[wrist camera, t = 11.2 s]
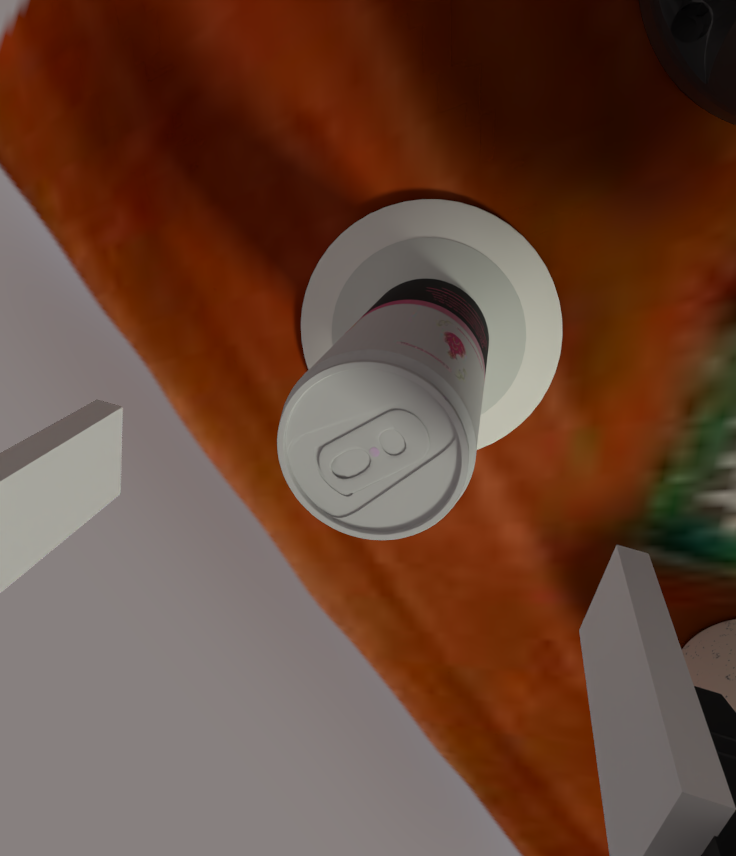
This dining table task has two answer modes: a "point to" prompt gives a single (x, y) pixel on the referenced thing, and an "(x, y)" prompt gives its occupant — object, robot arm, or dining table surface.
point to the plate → (461, 266)
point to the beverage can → (390, 414)
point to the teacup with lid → (714, 660)
